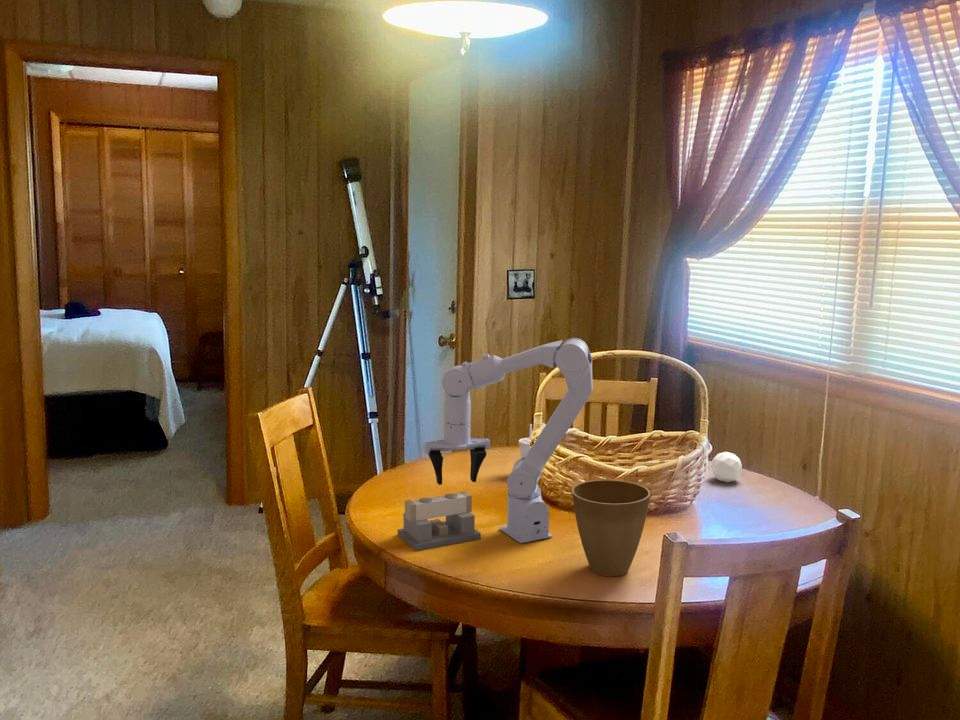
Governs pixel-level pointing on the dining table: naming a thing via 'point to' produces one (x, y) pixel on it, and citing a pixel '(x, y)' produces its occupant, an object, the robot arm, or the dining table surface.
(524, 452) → the smoothie
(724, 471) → the geometric ball
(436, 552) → the dining table surface
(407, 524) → the grey fixture base
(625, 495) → the plant pot
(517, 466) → the robot arm
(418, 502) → the frame bar
